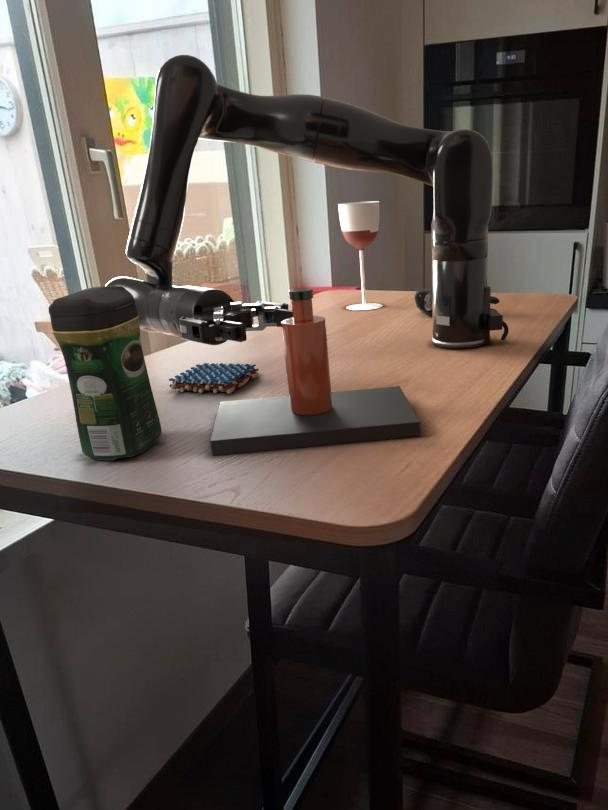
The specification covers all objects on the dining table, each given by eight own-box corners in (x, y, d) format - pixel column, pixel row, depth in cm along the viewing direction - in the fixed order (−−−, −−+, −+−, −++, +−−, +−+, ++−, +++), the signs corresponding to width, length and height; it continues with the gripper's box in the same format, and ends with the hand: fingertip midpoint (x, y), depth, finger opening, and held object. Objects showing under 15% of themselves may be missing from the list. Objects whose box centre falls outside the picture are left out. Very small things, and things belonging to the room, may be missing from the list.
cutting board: (400, 398, 95) (399, 385, 94) (420, 436, 81) (420, 421, 80) (222, 414, 93) (220, 401, 92) (212, 455, 79) (209, 441, 79)
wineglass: (389, 302, 162) (384, 200, 153) (376, 310, 154) (370, 203, 145) (353, 302, 165) (347, 202, 156) (339, 310, 156) (331, 205, 147)
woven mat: (232, 395, 101) (230, 381, 100) (167, 392, 104) (165, 379, 103) (262, 375, 110) (260, 362, 109) (202, 373, 113) (200, 361, 112)
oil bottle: (321, 399, 91) (311, 284, 85) (339, 409, 86) (330, 289, 80) (284, 407, 88) (271, 290, 82) (300, 418, 84) (288, 295, 78)
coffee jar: (114, 433, 89) (81, 282, 81) (172, 434, 87) (144, 280, 79) (70, 462, 80) (29, 297, 72) (133, 464, 78) (98, 295, 71)
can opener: (409, 317, 144) (409, 290, 142) (420, 311, 150) (419, 284, 148) (495, 319, 138) (495, 290, 136) (502, 312, 144) (503, 284, 141)
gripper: (147, 295, 92) (220, 305, 81) (234, 279, 101) (310, 286, 91) (157, 351, 95) (229, 368, 85) (241, 331, 104) (315, 344, 94)
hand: (271, 326), depth 88 cm, fingers open, 8 cm apart
